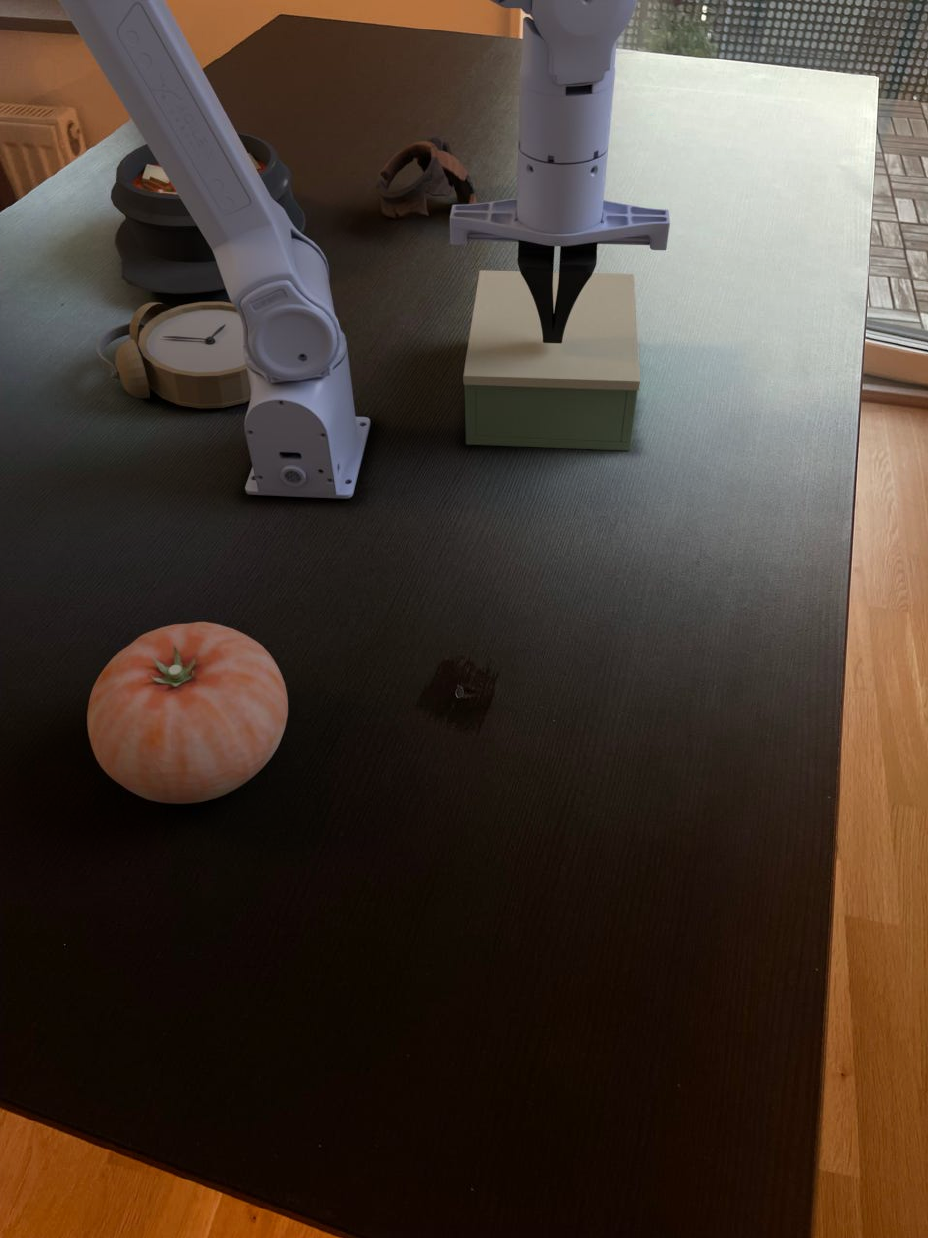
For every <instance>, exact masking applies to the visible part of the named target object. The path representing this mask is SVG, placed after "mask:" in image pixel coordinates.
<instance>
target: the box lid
mask: <svg viewBox="0 0 928 1238" xmlns="http://www.w3.org/2000/svg"><path fill="white" fill-rule="evenodd" d="M558 280H559V271H553V304H554V310H555V303H556V296H557V289H558ZM635 284H636V283H635V274H634V273H605V272H604V273H602V272H593V273H592V276H591V277H590V278H589V280H588V281H587V283H586V284H585V286H584V287H583V289H582V290H581V292H580V294H579V296H578V298H577V300H576V302H575V304H574V306H573V308H572V310H571V313H570V315H569V318H568V320H567V323H566V326H565V330H564V334H563V339H562V343H561V344H560V343H543V335H542V328H541V322H540V318H539V314H538V311H537V308H536V304H535V302H534V299H533V296H532V294H531V292H530V290H529V287H528V285H527V283H526V281H525V280H524V278H523V276H522V275H521V272H520V270H486V269H485V270H484V269H482V270H481V269H480V270H479V272H478V278H477V284H476V292H475V297H474V305H473V311H472V315H471V316H472V317H471V322H470V323H471V324H470V330H469V335H468V341H467V342H468V343H467V349H466V355H465V362H464V369H463V375H462V378H463V379H462V380H463V385H464V386H465V385H489V386H519V387H549V388H579V389H609V390H638V391H639V390H640V386H641V371H640V356H639V355H640V354H639V353H640V352H639V337H638V336H639V335H638V320H637V319H638V318H637V304H636V303H637V301H636V287H635Z"/></svg>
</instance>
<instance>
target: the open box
mask: <svg viewBox="0 0 928 1238" xmlns="http://www.w3.org/2000/svg"><path fill="white" fill-rule="evenodd" d="M638 392H639V390H609V389H579V388H549V387H519V386H489V385H464V420H465V423H464V424H465V425H464V426H465V445H469V446H471V445H473V446H474V445H475V446H500V447H523V448H525V447H526V448H551V449H553V448H554V449H575V450H576V449H579V450H580V449H581V450H605V451H627V452H628V451H631V448H632V440H633V430H634V425H635V424H634V422H635V416H636V407H637V402H638V401H637V400H638Z"/></svg>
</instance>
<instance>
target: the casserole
mask: <svg viewBox="0 0 928 1238" xmlns="http://www.w3.org/2000/svg"><path fill="white" fill-rule="evenodd" d="M236 133H237V135H238V137H239V138H240V140H241V142H242V144H243V146H244V148H245V150H246V151H247V153H248V155H249V157H250V159H251V161H252V163H253V164H254V166H255V168H256V170H257V172H258V174H259V175H260V177H261V179H262V181H263V183H264V185H265V187H266V188H267V190H268V192H269V194H270V196H271V197H272V199H273V200H274V201H275V202H277V203H278V204H279V205H280V206H281V207H283V208H284V210H285V211H286V213H287V215H288V217H289V219H290V221H291V222H292V224H293V225H294V227H295V228H296V229H297V230H298V231H299V232H300V233H301V234H303V233H304V232H305V229H306V225H307V219H306V215H305V214H306V213H305V212H304V211H303V209H302V208H301V207H300V205H299V204H298V202H297V201H296V200H295V197H294V193H293V189H292V186H291V183H292V174H291V173H292V172H291V170H290V169H289V168H288V166H287V164H285V163H284V162H282V160H281V159H280V157H279V154H278V152H277V151H276V149H275V148H274V147H273V145H272V144H271V143H269V142H268V141H266V140H264V139H263V138H260V137H257V136H255V135H251V134H247V133H242V132H236ZM115 173H116V174H115V183H114V184H113V186H112V188H111V190H110V200H111V203H112V205H113V206H114V207H115V208H116V210H117V211H118V212H120V213H121V214H122V215H123V216H124V217H125V219H124V220H123V221H122V222H121V223H120V225H119V226H118V229H117V231H116V233H115V236H114V245H115V248H116V250H117V252H118V255H119V257H120V260H121V279H122V280H123V281H124V282H125V283H126V284H127V285H129V286H132V287H134V288H136V289H139V290H144V291H149V292H153V293H162V294H163V293H164V294H173V295H174V294H175V295H176V294H201V293H210V292H218V291H222V290H226V287H225V284H224V282H223V279H222V276H221V273H220V270H219V267H218V264H217V261H216V258H215V256H214V253H213V251H212V249H211V247H210V245H209V244H208V242H207V241H206V239H205V237H204V236H203V234H202V232H201V231H200V229H199V228H198V226H197V224H196V223H195V221H194V219H193V218H192V216H191V215H190V213H189V211H188V210H187V208H186V206H185V205H184V203H183V202H182V200H181V198H180V197H179V195H178V194H177V192H176V190H175V189H174V187H173V185H172V184H171V182H170V181H169V179H168V177H167V176H166V174H165V172H164V171H163V169H162V168H161V166H160V164H159V163H158V161H157V159H156V158H155V156H154V155H153V153H152V151H151V150H150V148H149V146H148V145H147V143H145V144H143V145H141V146H139V147H137V148H135V149H133V150H132V151H130V152H129V153H128V154H126V155H125V156H124V157H123V158H122V159H121V160H120V162H119V163H118V165H117V167H116V172H115Z"/></svg>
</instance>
